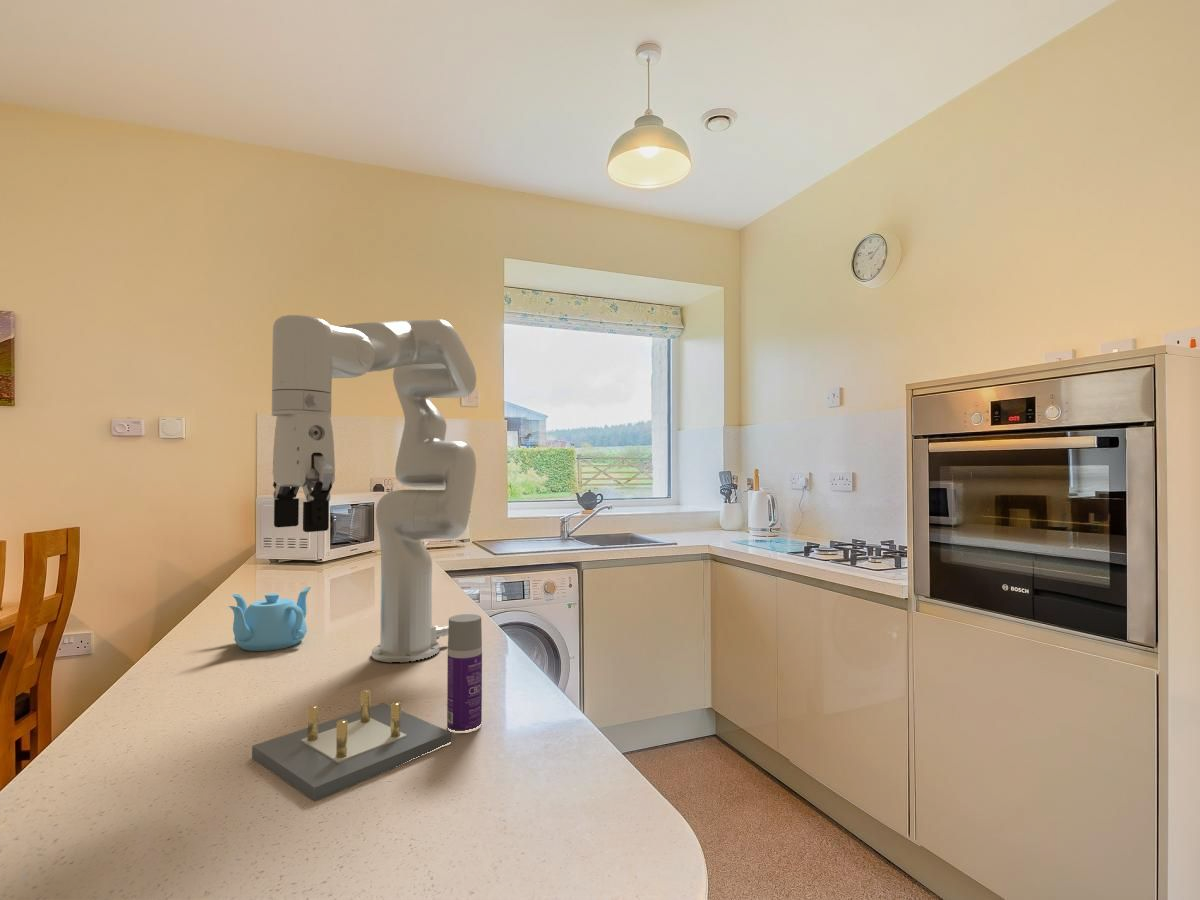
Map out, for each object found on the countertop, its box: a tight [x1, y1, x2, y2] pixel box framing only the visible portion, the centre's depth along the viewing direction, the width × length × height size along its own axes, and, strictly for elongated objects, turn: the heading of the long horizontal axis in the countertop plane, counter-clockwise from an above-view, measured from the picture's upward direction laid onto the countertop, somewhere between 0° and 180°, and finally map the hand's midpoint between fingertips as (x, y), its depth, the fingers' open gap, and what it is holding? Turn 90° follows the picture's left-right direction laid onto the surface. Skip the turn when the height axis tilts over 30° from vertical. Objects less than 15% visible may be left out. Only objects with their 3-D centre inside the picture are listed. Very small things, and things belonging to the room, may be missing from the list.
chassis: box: [251, 702, 453, 803], centre depth 79 cm, size 18×16×2 cm
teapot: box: [228, 586, 312, 652], centre depth 126 cm, size 15×15×10 cm
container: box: [446, 613, 483, 731], centre depth 86 cm, size 5×5×15 cm
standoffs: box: [306, 689, 402, 758], centre depth 79 cm, size 8×8×4 cm
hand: (300, 528), depth 86 cm, fingers open, 9 cm apart
